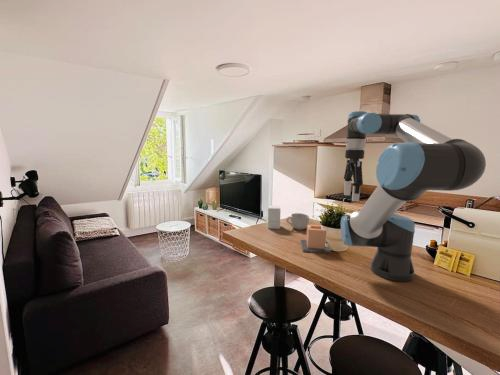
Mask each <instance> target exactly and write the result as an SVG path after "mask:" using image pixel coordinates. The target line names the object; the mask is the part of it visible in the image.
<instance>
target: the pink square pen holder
mask: <svg viewBox="0 0 500 375" xmlns="http://www.w3.org/2000/svg"><path fill="white" fill-rule="evenodd" d="M326 238H327V229H326V228H325V229H321V224H319V225H318V224H308V225H307V228H306V239H305V240H306V243H307V247H308V248H318V249H325V243H326V240H327V239H326Z"/></svg>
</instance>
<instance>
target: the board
mask: <svg viewBox="0 0 500 375" xmlns="http://www.w3.org/2000/svg"><path fill="white" fill-rule="evenodd" d="M300 244H301V245H300V246H301V250H302V252H303V253H305V252H306V253H318V254H319V253H322V254H332V250H331V247H330V246H329V247H330V248H329V247H326V246H325V249H318V248H308V247H307V243H306V239H301V240H300Z"/></svg>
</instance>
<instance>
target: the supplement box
mask: <svg viewBox="0 0 500 375" xmlns="http://www.w3.org/2000/svg"><path fill="white" fill-rule="evenodd" d="M267 229H272V230H275V229H277V230H280V229H281V206H280V205H268V207H267Z"/></svg>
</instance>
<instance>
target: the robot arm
mask: <svg viewBox="0 0 500 375" xmlns="http://www.w3.org/2000/svg"><path fill="white" fill-rule="evenodd" d="M367 135H394V136H397V138H399V139H401V140H402V141H404V142H396V143H393V144H390V145H388V146H387V147H386V148H384V150H383V151H381V154H380V155H379V157H378V160H377V161H378V164H377V165H376V170H375V175H376V181H377V182H378V184H377V186H376V188H375V189H374V191H373V192H372V194H371V195H370V196H369V197H368V199H367V200H366V202H365V203H364V204H363V205H362V207H361V208H360V209H356V210H354V211H353V213H351V215H348V214H347V215H343V216H341V218H340V235H341V239H342V240H341V241H342V242H343V244H344V245H345V246H349V247H353V248H354V247H368V248H369V247H371V248H377V249H376V252H375V254H374V256H373V258H372V260H371V263H370V270H371V271H372V272H373V274H375V275H377V276H378V277H381V278H383V279H385V280H388V281H389V280H390V281H393V282H411V281H413V279H414V278H415V269H414V268H415V267H414V265H413V259H412V252H413V251H412V250H413V242H414V236H415V230H416V229H415V228H416V227H415V222H414V220H413V219H411V218H410V217H408V216H404V215H402V214H396V213H397V212H398V210H399V209H401V208H402V207H403V205H405V204H406V203H407V202H413V201H416V200H418V199H419V198H420V197H422V196H423V195H424V193H425V192H428V191H446V192H447V191H449V192H453V191H460V190H464V189H466V188H468V187H471V186H473V185H474V184H476V183H477V182H478V181H479V180H480V178H481V177H482V176H483V174H484V173H485V170H486V165H487V164H486V163H487V162H486V157H485V155H484V153H483V151H482V150H480V148H479V147H478V146H476V145H475V144H472V143H471V142H468V141H467V140H464V139H463V138H462V139H461V138H451V137H449V136H447V135H445V134H443V133H441V132H440V131H437V130H436V129H433V128H432V127H430V126H427V125H426V124H424V123H422V122H421V119H420V116H418V115H417V114H410V113H406V114H403V113H402V114H401V113H400V114H399V113H398V114H397V113H396V114H395V113H394V114H392V113H390V114H389V113H387V114H386V113H385V114H384V113H376V112H367V111H363V110H362V111H360V110H359V111H358V110H357V111H351V112H349V113H348V119H347V128H346V140H345V141H344V143H345V144H346V145H345V148H346V150H345V153H344V154H345V156H344V157H345V159H347V160H346V166H345V171H344V175H343V179H344V188H343V189H344V190H343V195H344V196H351V201H352V202H360V194H361V186H363V184H364V182H363V161H360V160H361V159H362V160H363V159H364V158H365V149H366V141H367V139H366V138H367V137H366V136H367ZM352 182H353V183H352ZM351 190H352V191H351ZM351 192H352V195H351Z"/></svg>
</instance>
